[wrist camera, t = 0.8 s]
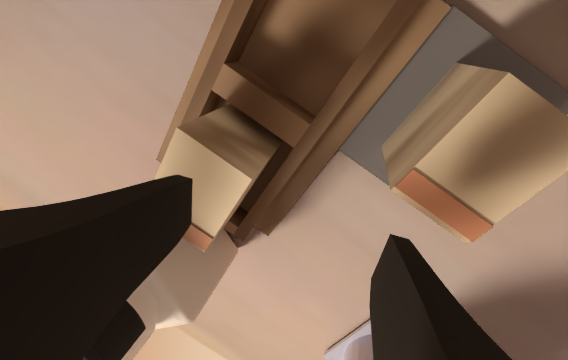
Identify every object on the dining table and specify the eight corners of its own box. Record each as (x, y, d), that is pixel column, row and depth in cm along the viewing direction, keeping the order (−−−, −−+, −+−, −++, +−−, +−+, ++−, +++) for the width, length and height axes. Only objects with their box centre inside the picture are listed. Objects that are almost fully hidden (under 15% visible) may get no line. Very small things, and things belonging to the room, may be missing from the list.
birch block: (517, 108, 15) (606, 144, 9) (434, 183, 17) (467, 245, 12) (455, 62, 14) (510, 72, 9) (381, 145, 17) (390, 191, 12)
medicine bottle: (136, 206, 25) (-33, 327, 15) (192, 178, 22) (26, 308, 12) (183, 267, 27) (63, 412, 17) (241, 250, 24) (137, 416, 13)
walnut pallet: (446, 9, 14) (465, 1, 11) (271, 228, 22) (259, 253, 20) (280, -116, 14) (260, -154, 11) (164, 155, 22) (137, 170, 19)
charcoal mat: (575, 100, 14) (582, 102, 14) (436, 216, 19) (438, 220, 18) (449, 5, 14) (452, 4, 14) (337, 146, 18) (336, 148, 18)
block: (284, 140, 18) (251, 180, 13) (244, 199, 21) (203, 253, 15) (231, 102, 18) (175, 127, 12) (198, 167, 20) (139, 211, 15)
